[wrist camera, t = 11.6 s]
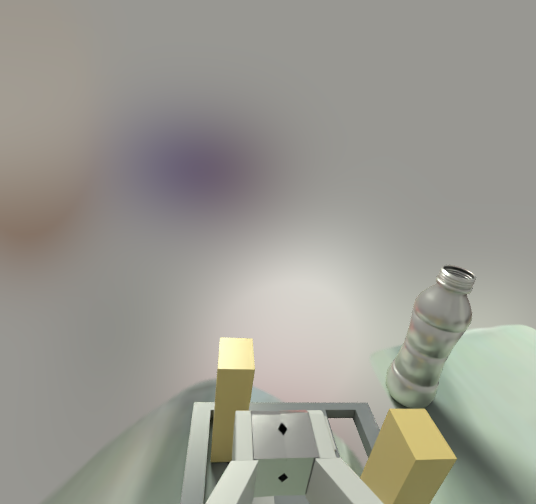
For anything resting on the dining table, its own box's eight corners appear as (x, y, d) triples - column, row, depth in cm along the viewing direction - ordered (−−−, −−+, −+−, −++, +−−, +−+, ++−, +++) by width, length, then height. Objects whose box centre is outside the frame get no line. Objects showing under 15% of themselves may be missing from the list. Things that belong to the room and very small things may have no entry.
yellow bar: (212, 426, 35) (220, 337, 30) (240, 425, 35) (252, 338, 30) (210, 462, 31) (218, 368, 26) (241, 461, 32) (254, 369, 27)
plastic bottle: (379, 402, 41) (429, 274, 33) (384, 370, 47) (428, 254, 39) (430, 424, 39) (497, 294, 31) (428, 388, 45) (485, 269, 37)
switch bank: (193, 411, 37) (194, 401, 36) (364, 410, 40) (367, 401, 39) (167, 605, 22) (167, 595, 21) (438, 581, 25) (445, 571, 25)
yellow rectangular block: (350, 499, 30) (389, 408, 25) (381, 498, 30) (425, 408, 25) (367, 553, 26) (415, 459, 21) (400, 550, 27) (457, 458, 21)
